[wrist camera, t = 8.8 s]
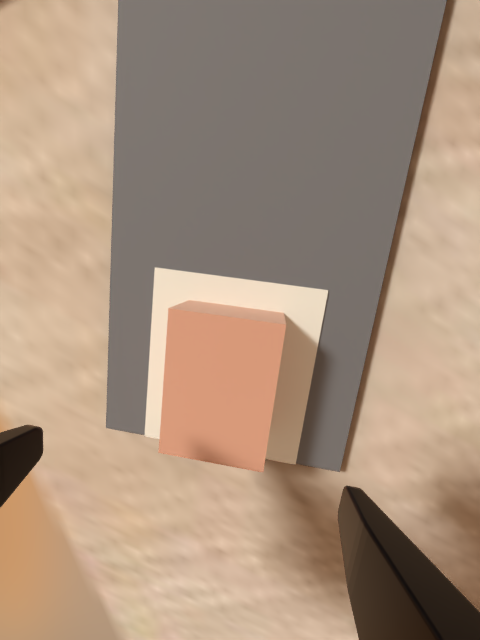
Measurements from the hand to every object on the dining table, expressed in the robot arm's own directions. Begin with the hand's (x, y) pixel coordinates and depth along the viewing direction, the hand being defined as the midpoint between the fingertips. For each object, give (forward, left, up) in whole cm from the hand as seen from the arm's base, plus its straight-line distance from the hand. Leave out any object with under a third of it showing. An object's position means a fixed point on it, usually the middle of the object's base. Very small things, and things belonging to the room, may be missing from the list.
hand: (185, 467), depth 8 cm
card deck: (0, 0, -7) cm, 7 cm away
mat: (0, -7, -8) cm, 11 cm away
